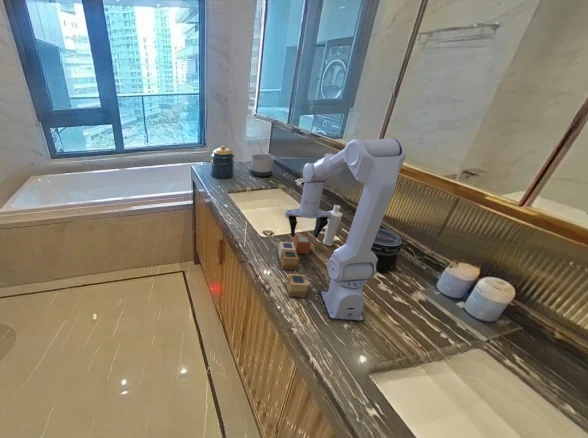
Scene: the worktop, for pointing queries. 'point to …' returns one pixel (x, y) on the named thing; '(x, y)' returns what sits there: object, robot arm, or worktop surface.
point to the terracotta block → (302, 244)
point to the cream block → (285, 247)
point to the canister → (222, 163)
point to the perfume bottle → (332, 226)
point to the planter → (262, 165)
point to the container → (386, 249)
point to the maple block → (296, 285)
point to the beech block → (289, 260)
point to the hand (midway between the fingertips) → (303, 235)
